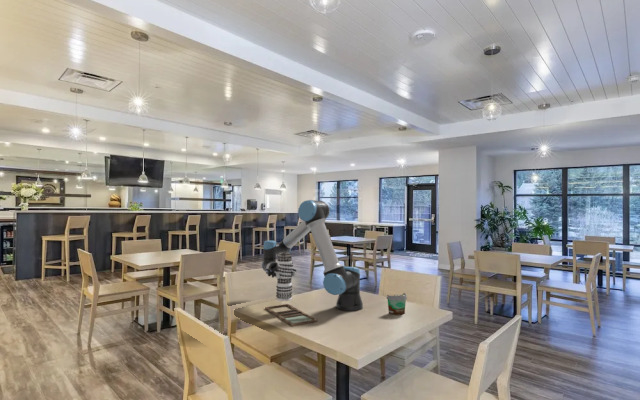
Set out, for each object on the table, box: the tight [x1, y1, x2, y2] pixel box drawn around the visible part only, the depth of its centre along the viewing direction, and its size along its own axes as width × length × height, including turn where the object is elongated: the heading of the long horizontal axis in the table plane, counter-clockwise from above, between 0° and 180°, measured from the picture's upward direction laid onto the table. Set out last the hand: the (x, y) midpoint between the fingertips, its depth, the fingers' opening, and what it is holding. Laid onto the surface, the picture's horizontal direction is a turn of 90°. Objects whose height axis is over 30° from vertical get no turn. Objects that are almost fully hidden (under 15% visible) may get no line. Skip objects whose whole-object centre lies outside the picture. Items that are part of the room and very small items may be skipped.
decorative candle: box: [275, 252, 294, 302], centre depth 191 cm, size 9×9×25 cm
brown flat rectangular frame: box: [265, 303, 318, 327], centre depth 187 cm, size 34×14×1 cm, turn 30°
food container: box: [386, 292, 408, 316], centre depth 190 cm, size 12×6×10 cm, turn 117°
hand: (287, 275), depth 187 cm, fingers closed on decorative candle, 9 cm apart
